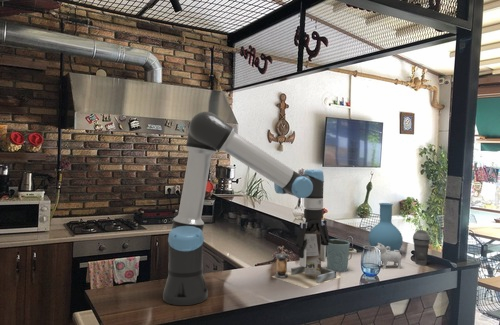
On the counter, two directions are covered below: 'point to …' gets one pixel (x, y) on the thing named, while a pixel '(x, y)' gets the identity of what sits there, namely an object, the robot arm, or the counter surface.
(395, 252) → the white animal figurine
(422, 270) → the counter surface
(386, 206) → the vase
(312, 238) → the coffee box
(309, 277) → the notched board
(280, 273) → the bobbin
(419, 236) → the beverage cup
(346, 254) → the green mug
